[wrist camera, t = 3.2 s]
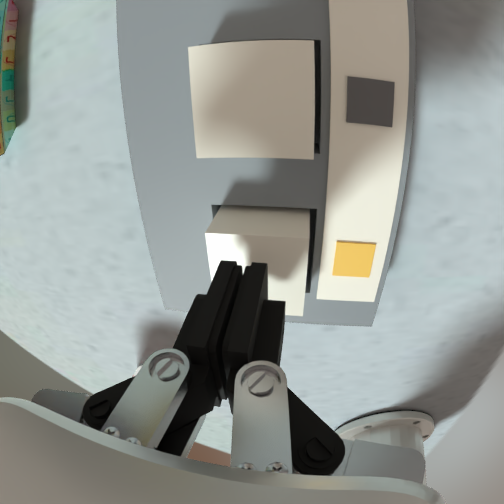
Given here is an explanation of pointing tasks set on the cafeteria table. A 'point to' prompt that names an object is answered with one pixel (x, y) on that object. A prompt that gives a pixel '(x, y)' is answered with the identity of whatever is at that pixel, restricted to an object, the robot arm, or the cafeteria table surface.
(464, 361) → the cafeteria table surface
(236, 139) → the button middle
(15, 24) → the puzzle game
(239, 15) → the button board
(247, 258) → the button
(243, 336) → the robot arm
